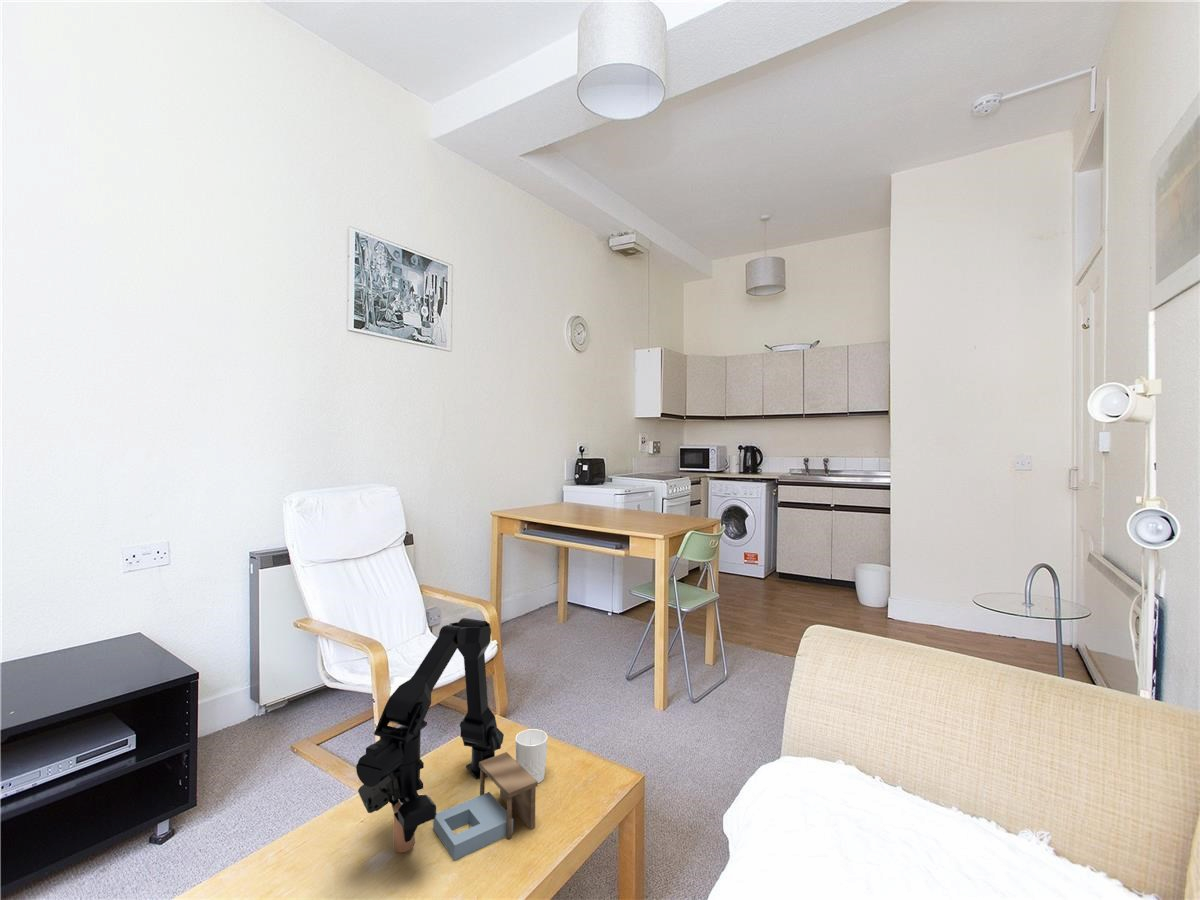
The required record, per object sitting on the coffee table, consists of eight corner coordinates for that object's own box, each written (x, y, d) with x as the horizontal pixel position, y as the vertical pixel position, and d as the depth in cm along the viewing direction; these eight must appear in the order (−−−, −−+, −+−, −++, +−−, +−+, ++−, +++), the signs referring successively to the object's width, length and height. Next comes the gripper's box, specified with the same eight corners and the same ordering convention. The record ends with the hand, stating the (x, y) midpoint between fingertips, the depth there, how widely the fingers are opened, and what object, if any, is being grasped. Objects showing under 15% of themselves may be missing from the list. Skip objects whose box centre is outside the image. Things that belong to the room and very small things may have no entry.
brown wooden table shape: (478, 805, 124) (478, 762, 124) (505, 793, 128) (506, 751, 128) (507, 840, 113) (508, 793, 113) (536, 826, 117) (537, 781, 117)
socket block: (433, 828, 116) (433, 814, 116) (489, 804, 124) (489, 791, 124) (454, 860, 107) (454, 845, 107) (513, 832, 115) (513, 818, 115)
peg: (390, 843, 110) (391, 804, 110) (410, 835, 112) (411, 796, 112) (397, 855, 107) (397, 814, 107) (417, 846, 109) (417, 806, 109)
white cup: (553, 777, 135) (554, 737, 135) (528, 791, 129) (529, 749, 129) (532, 764, 140) (533, 725, 140) (508, 777, 134) (508, 737, 134)
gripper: (350, 749, 112) (349, 825, 112) (377, 796, 97) (376, 883, 97) (405, 732, 119) (404, 804, 119) (438, 774, 104) (436, 855, 104)
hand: (404, 834), depth 109 cm, fingers closed on peg, 4 cm apart
